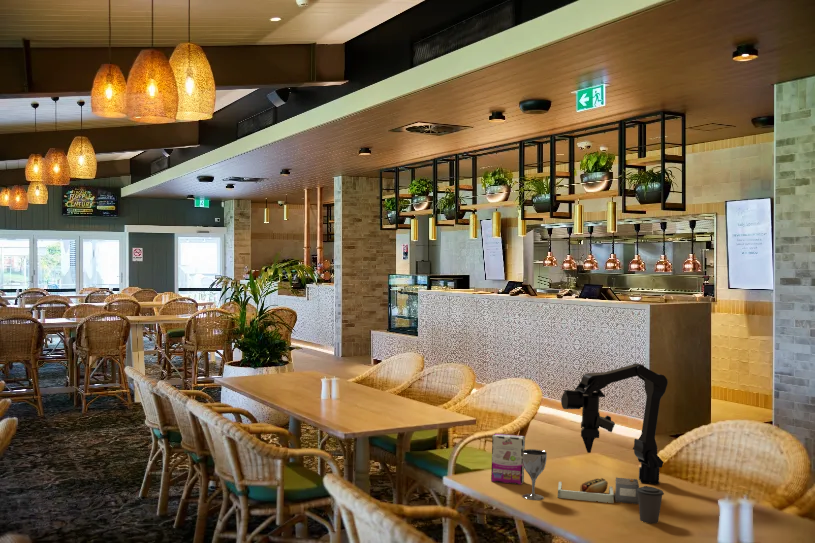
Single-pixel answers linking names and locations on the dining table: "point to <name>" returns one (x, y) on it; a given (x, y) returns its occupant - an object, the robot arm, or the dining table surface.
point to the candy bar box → (507, 459)
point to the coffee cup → (649, 503)
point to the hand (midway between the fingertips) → (588, 452)
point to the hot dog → (594, 486)
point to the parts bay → (586, 495)
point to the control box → (626, 490)
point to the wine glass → (534, 468)
